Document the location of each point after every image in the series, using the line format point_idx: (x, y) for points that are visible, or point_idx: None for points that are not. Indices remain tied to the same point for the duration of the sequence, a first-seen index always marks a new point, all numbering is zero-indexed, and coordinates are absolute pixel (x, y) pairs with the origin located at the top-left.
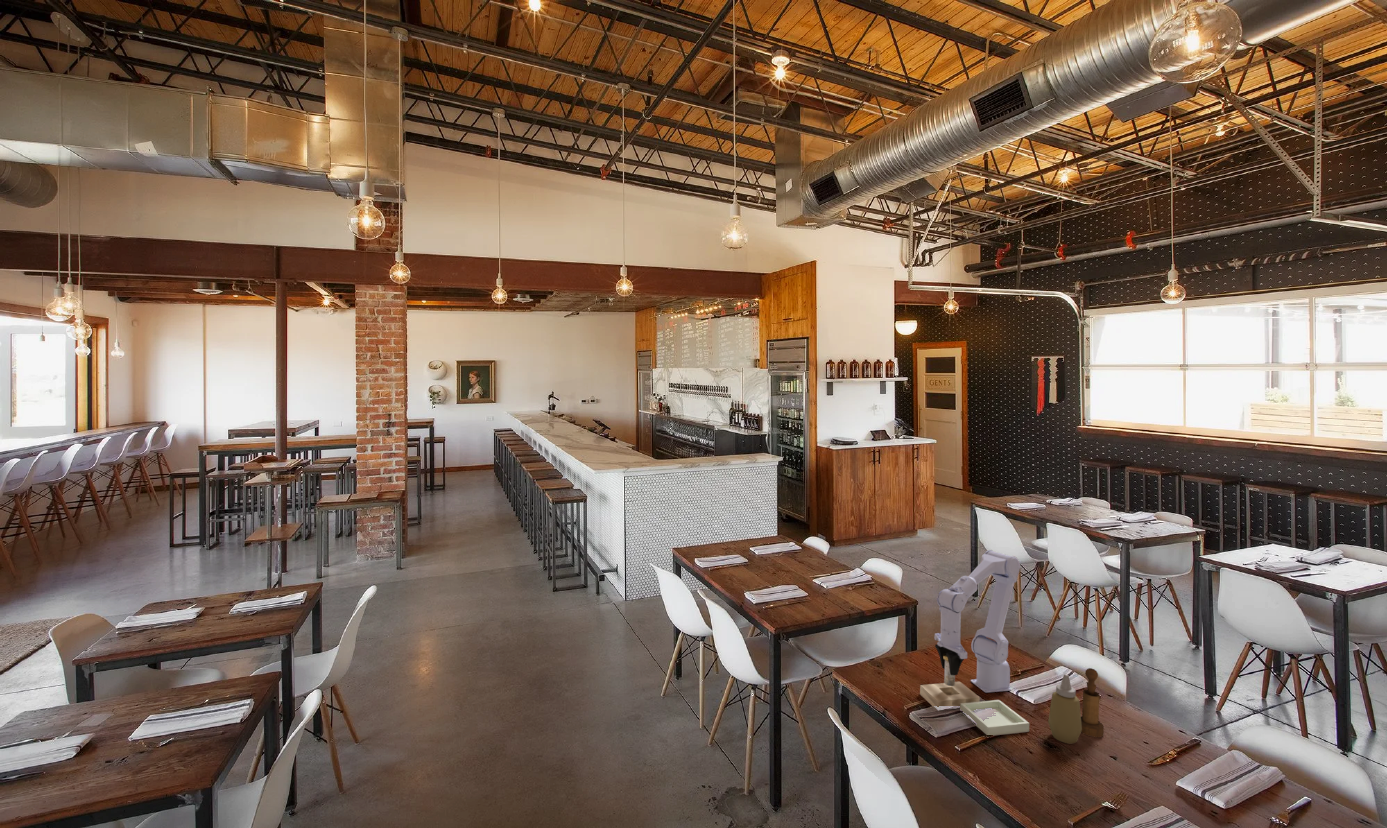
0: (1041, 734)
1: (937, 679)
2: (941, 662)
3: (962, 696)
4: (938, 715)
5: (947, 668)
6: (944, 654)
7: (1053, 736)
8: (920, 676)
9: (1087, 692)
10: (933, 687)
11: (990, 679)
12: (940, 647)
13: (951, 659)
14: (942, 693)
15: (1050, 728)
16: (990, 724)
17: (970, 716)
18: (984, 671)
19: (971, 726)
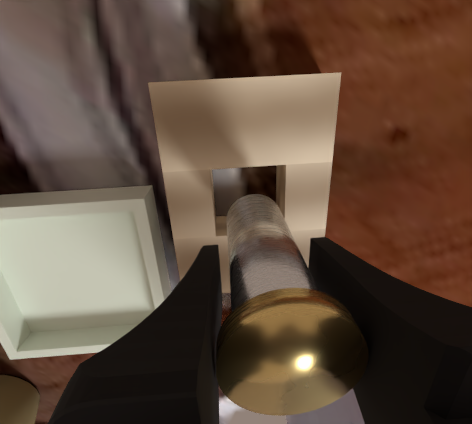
0: None
1: (411, 223)
2: (340, 253)
3: (192, 235)
4: (115, 61)
5: (248, 254)
6: (349, 335)
7: (2, 375)
8: (463, 166)
9: None
10: (298, 139)
11: None
12: (451, 386)
13: (93, 357)
14: (231, 155)
15: (1, 392)
16: (37, 244)
17: (72, 196)
18: None
19: (30, 169)
